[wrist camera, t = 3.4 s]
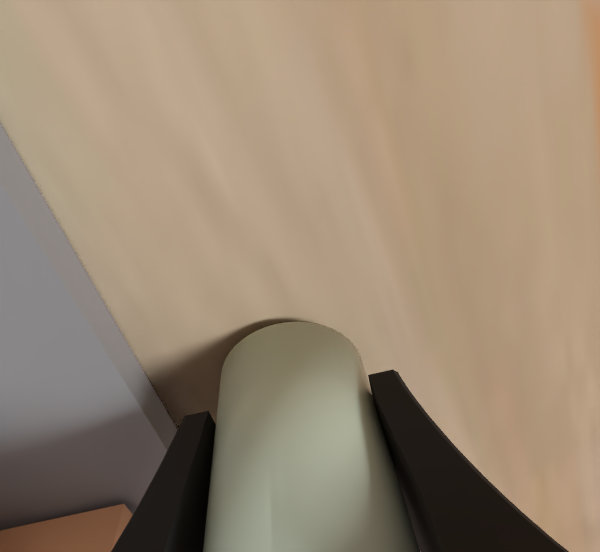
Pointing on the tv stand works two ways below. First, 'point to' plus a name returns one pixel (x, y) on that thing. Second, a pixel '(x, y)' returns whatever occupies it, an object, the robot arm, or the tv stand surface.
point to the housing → (64, 374)
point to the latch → (69, 532)
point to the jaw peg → (301, 451)
